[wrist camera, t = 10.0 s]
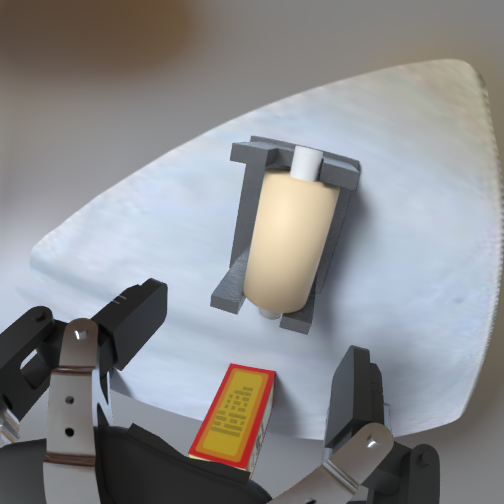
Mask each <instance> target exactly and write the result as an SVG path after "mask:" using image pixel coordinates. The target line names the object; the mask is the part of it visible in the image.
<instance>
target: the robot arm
mask: <svg viewBox="0 0 504 504" xmlns="http://www.w3.org/2000/svg"><path fill="white" fill-rule="evenodd" d="M167 291H168V287H167V284H165V283H163V282H160V281H158V280H155V279H153V278H150V279H148V280H147V281H146V282H144V283H143V284H142V285H141V286H140V285H138V284H137V285H135V286H132V287H129V288H127V289H126V290H124V291H123V292H122V293H121V294H120V295H119V296H117V297H116V298H115V299H113V301H111V302H110V303H109V304H107V305H106V306H105V307H104V308H103V309H102V310H100V311H99V312H98V313H97V314H96V315H94V316H93V317H92V318H91V319H87V318H78V319H75V320H72V321H71V322H69V323H66V322H62V321H59V320H55V319H54V318H53V314H52V312H51V310H50V309H49V308H47V307H45V306H37V307H33V308H31V309H30V310H28V311H27V312H26V313H25V314H23V315H22V316H21V317H20V318H19V319H17V320H16V321H15V322H14V323H13V324H12V325H10V326H9V327H8V328H7V329H6V330H5V331H4V332H2V333H1V334H0V504H439V497H440V462H439V456H438V453H437V451H436V450H435V449H434V448H433V447H432V446H430V445H427V444H420V445H418V446H416V447H415V448H413V449H410V448H408V447H406V446H403V445H401V444H399V443H397V442H395V441H394V439H393V435H392V433H391V427H390V413H389V405H385V404H384V402H383V395H382V393H383V387H382V376H381V372H380V370H379V369H378V367H377V365H376V364H374V363H370V354H369V350H368V349H365V348H361V347H357V346H353V345H351V346H350V347H349V349H348V351H347V352H346V354H345V356H344V358H343V359H342V361H341V363H340V364H339V366H338V368H337V369H336V371H335V374H334V377H333V380H332V389H331V399H330V407H329V409H328V412H327V419H326V429H325V436H324V444H323V452H322V458H321V465H320V466H319V467H317V468H316V469H315V470H314V471H312V472H311V473H310V474H309V475H307V476H306V477H304V478H303V479H302V480H300V481H299V482H298V483H296V484H295V485H293V486H292V487H291V488H289V489H288V490H287V491H285V492H283V493H282V494H280V495H279V496H277V497H276V498H274V499H272V497H271V496H270V495H269V494H268V492H267V491H266V490H264V489H263V488H262V487H261V486H260V485H258V484H257V483H256V482H254V481H252V480H251V479H249V477H250V474H251V472H248V471H245V470H241V469H238V468H235V467H232V466H229V465H226V464H223V463H220V462H213V461H206V460H200V459H194V458H189V457H186V456H184V455H182V454H181V453H179V452H178V451H177V450H175V449H174V448H173V447H172V446H170V445H169V444H168V443H166V442H165V441H164V440H163V439H161V438H160V437H159V436H156V435H155V434H152V433H151V432H149V431H147V430H145V429H143V428H141V427H139V426H137V425H136V424H134V423H133V424H132V425H131V427H130V428H124V427H119V426H115V425H114V421H113V416H112V412H111V402H110V384H109V370H110V369H111V368H112V367H115V368H116V369H118V370H120V371H122V370H123V369H124V367H125V366H126V365H127V364H128V363H129V362H130V360H131V359H132V358H133V357H134V356H135V355H136V353H137V352H138V351H139V350H140V349H141V348H142V347H143V345H144V344H145V343H146V342H147V341H148V340H149V339H150V337H151V336H152V335H153V334H154V333H155V332H156V331H157V329H158V328H159V327H160V326H161V325H162V324H163V322H164V320H165V318H166V315H167ZM34 349H36V351H37V354H36V355H35V356H34V357H33V358H32V359H31V360H30V361H29V362H28V363H27V364H26V365H25V366H24V367H23V368H22V369H21V370H20V366H21V363H22V362H23V360H24V359H25V358H26V357H27V356H28V355H29V354H30V353H31V352H32V351H33V350H34ZM49 386H50V389H49V400H48V415H47V438H45V439H39V440H32V441H25V442H17V443H15V441H17V440H18V439H19V438H20V432H19V422H20V421H21V420H22V418H23V417H24V416H25V414H26V413H27V412H28V411H29V410H30V409H31V407H32V406H33V405H34V404H35V403H36V401H37V400H38V399H39V398H40V397H41V395H42V394H43V393H44V392H45V391H46V390H47V388H48V387H49Z"/></svg>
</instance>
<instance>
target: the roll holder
mask: <svg viewBox="0 0 504 504" xmlns="http://www.w3.org/2000/svg"><path fill="white" fill-rule="evenodd" d="M296 146H302V145H297V144H293V143H288V142H284V141H279V140H274V139H269V138H264V137H258V136H251V140H250V142H241V143H233V144H232V150H231V156H230V161H235V162H241V163H246V168H245V174H244V180H243V186H242V192H241V198H240V204H239V210H238V216H237V222H236V228H235V235H234V241H233V247H232V254H231V260H230V267H229V268H230V270H229V271H228V272H227V274H226V275H225V277H224V278H223V279H222V281H221V282H220V284H219V285H218V286H217V288H216V289H215V290H214V292H213V293H212V295H211V304H210V306H212V307H215V308H218V309H221V310H224V311H227V312H230V313H234V314H238V312H239V310H240V308H241V306H242V304H243V302H244V300H245V299H246V296H245V294H244V292H243V285H244V279H245V274H246V269H247V263H248V258H249V253H250V247H251V242H252V237H253V232H254V226H255V221H256V216H257V210H258V205H259V200H260V194H261V189H262V184H263V179H264V173H265V169H268V168H280V169H288V170H291V166H292V161H293V157H294V152H295V147H296ZM302 147H306V146H302ZM307 148H310V147H307ZM311 149H314V148H311ZM315 150H318V149H315ZM319 151H322V150H319ZM322 152H323V155H322V160H321V164H320V168H319V173H318V177H320V180H319V181H323V182H327V183H330V184H334V185H338V186H340V192H339V196H338V199H337V203H336V207H335V210H334V214H333V218H332V221H331V225H330V228H329V232H328V235H327V239H326V242H325V245H324V249H323V252H322V255H321V258H320V262H319V265H318V268H317V271H316V274H315V277H314V280H313V283H312V287H311V290H310V293H309V295H308V298H307V301H306V304H305V305H304V307H303V308H301V309H300V310H298V311H295V312H291V313H283V315H282V319H281V322H280V326H279V327H281V328H284V329H288V330H292V331H295V332H299V333H303V334H308V332H309V329H310V326H311V324H312V316H313V308H314V300H315V293H319V294H320V291H321V289H322V286H323V283H324V280H325V277H326V274H327V271H328V268H329V265H330V262H331V259H332V256H333V253H334V250H335V247H336V243H337V240H338V237H339V234H340V230H341V227H342V224H343V220H344V217H345V213H346V210H347V206H348V203H349V199H350V196H351V192H352V190H355V191H356V187H357V183H358V179H359V175H360V172H359V171H358V170H357V169H358V165H359V161H358V160H355V159H352V158H348V157H345V156H341V155H337V154H334V153H330V152H326V151H322Z"/></svg>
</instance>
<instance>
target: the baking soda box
mask: <svg viewBox="0 0 504 504" xmlns="http://www.w3.org/2000/svg"><path fill="white" fill-rule="evenodd" d="M274 383H275V371H271V370H264V369H258V368H253V367H247V366H242V365H236V364H230V366H229V368H228V370H227V372H226V374H225V377H224V379H223V381H222V383H221V385H220V387H219V389H218V392H217V394H216V396H215V398H214V400H213V402H212V404H211V406H210V409H209V411H208V413H207V415H206V417H205V419H204V421H203V423H202V425H201V427H200V429H199V432H198V434H197V436H196V438H195V440H194V442H193V444H192V446H191V448H190V450H189V452H188V454H189V456H190V458H194V459H200V460H206V461H213V462H220V463H223V464H226V465H229V466H232V467H235V468H238V469H241V470H245V471H248V472H251V474H250V477H249V479H251V478H252V474H253V471H254V468H255V465H256V462H257V459H258V455H259V452H260V449H261V446H262V442H263V439H264V436H265V432H266V429H267V426H268V422H269V419H270V415H271V411H272V408H273V396H274Z"/></svg>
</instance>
